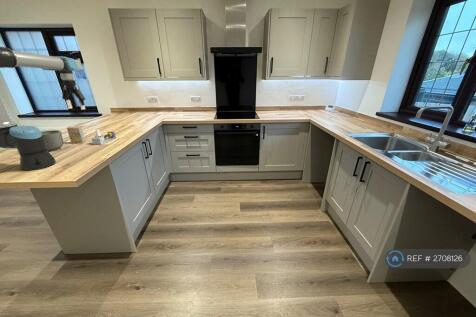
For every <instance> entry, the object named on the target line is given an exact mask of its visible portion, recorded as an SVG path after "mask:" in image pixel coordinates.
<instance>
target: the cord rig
mask: <svg viewBox="0 0 476 317" xmlns="http://www.w3.org/2000/svg"><path fill="white" fill-rule="evenodd" d="M103 136H104V139H105V141H104V142H103V140H102V138H100V137H98V138H96V137H95V136H94V137H92V138H91V142H92V144H91V145H94V146H97V145H98V146H102V145H104V144H108V143H110V142H112V141H114V139H115V140H117V139H116V138H117V137H116V132H115V131H108V132H107V134H103ZM109 141H110V142H109Z"/></svg>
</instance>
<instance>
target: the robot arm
mask: <svg viewBox="0 0 476 317" xmlns="http://www.w3.org/2000/svg"><path fill="white" fill-rule="evenodd" d="M16 67H19V68H20V67H21V68H33V69H42V70H44V71H54V72H55V71H58V72H59V74H60V76H59V77H60V79H61V81H62V85H63V86H62V87H61V89H62V95H61V96H62V100H64V101H65V104H66V105H67V109H68V110H70V109H73V105H72V102H71V100H70V98H71V95H72V94H74V96H75V97H76V98H77V99H78V102H79V106H80V110H82V111H83V110H86V106H85V100H86V98H85V96H84V94H83V92H82V91H81V89H80V87H78V86H76V85H77V83H76V80H75V77H74V73H73V71H77V70H78V68H79V64H78V63H77V61H76V60H75V59H74V58H71V57H67V56H62V55H61V56H60V55H59V56H58V55H57V56H53V55H46V54H39V53H31V52H25V51H19V50H18V51H17V50H12V49H11V48H9V47H5V46H0V69H3V68H4V69H6V68H7V69H8V68H9V69H15V68H16ZM41 132H42V131H41V130H40V128H38V126H34V125H18V124H17V123H16V122H14V121H12V119H11V118H10V115H9V112H8V111H7V109H6V107H5V105H4V103H3V101H2V98H1V97H0V148H1V149H15V150H17V152H18V154H19V156H20V157H19V167H20V169H21V171H25V170H26V171H37V170H41V169H46V168H48V167H51V166H53V165H55V164H56V163H57V162H56V159H55V157H54V156H53V155H52V154H51V152H50V151H48V150H47V148H46V145H45V142H44V140H43V137H42V133H41Z"/></svg>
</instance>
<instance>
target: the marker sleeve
mask: <svg viewBox="0 0 476 317" xmlns="http://www.w3.org/2000/svg"><path fill="white" fill-rule="evenodd" d="M95 133H96V135H94V137H96V138H98V137H100V138H102V140H103V142H104V141H105V139H106V138H104V134H101V130H100V129H97V130H96V131H95Z"/></svg>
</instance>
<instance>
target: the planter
mask: <svg viewBox="0 0 476 317" xmlns="http://www.w3.org/2000/svg"><path fill="white" fill-rule="evenodd" d="M40 132H41V133H42V137H43V140H44V142H45V145H46V148H47V150H48V152H55V151H59V150H60V149H61V148H62V147H63V145H64V138H63V135H62V131H61V130H57V129H54V130H53V129H52V130H43V131H40Z"/></svg>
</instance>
